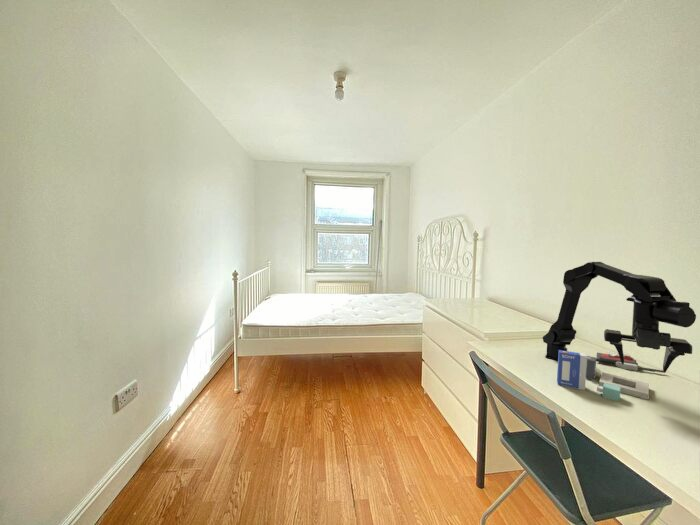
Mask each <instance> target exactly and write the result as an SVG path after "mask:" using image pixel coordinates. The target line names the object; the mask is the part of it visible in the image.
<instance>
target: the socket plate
mask: <svg viewBox="0 0 700 525" xmlns="http://www.w3.org/2000/svg"><path fill="white" fill-rule="evenodd" d="M599 378H600V379H599V381H598V386H602V387H603V385H604V383H606V384H610V385H614V386H618V387H621V389H620V394H624V395H625V394H626V395H629V396H632V397H633V396H634V397H637V398H640V399H644V400H647V401H648V400H649V395H650V394H649V393H650V389H649V388H650V383H649V382H646V381H645V382H644V381H642V380H641V381H640V380H637V379H632V378H628V377H626V376H625V377H624V376H619V375H615V374H611V373H607V372H603V371H602V372H601V376H600V377H599Z"/></svg>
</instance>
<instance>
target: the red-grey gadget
mask: <svg viewBox="0 0 700 525" xmlns="http://www.w3.org/2000/svg"><path fill="white" fill-rule="evenodd" d="M623 356H624V364H622V363H621V360H620V357H619V354H618V352H616V353H613V354H611V353H610V352H607V351H606V353H603V352H596V357H595V358H596V363H597V362H598V363H599V364H601V365H607V366H614V367H617V368H620V369H625V370H630V371H635V372H638V371H642V370H643V371H646V372H653V373H655V372H657V373H663V374H665V373H666V372H667V371H666V372H663V369H657V368H651V367H645V366H638V365H639V363H638V362H637V360H636V359H634V357H632V356H631V355H630V354H628V353H623Z"/></svg>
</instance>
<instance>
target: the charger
mask: <svg viewBox="0 0 700 525" xmlns="http://www.w3.org/2000/svg"><path fill="white" fill-rule="evenodd" d="M596 358H597V357H595V356H594V357H593V356H590V355H587V360H588V361H587V367H586V379H589V380H593V381H594V380H595V378H596V371H597V370H596V369H597V361H596Z"/></svg>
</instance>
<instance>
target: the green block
mask: <svg viewBox="0 0 700 525" xmlns="http://www.w3.org/2000/svg"><path fill="white" fill-rule="evenodd" d="M620 389H621V387H618V386H614V385H610V384H606V383H604V385H603V387H602V386H599V385H597V387H596V392H599V393H601V394H602V398H605V399H609V400H612V401H615V402H620V398H621V392H620Z"/></svg>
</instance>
